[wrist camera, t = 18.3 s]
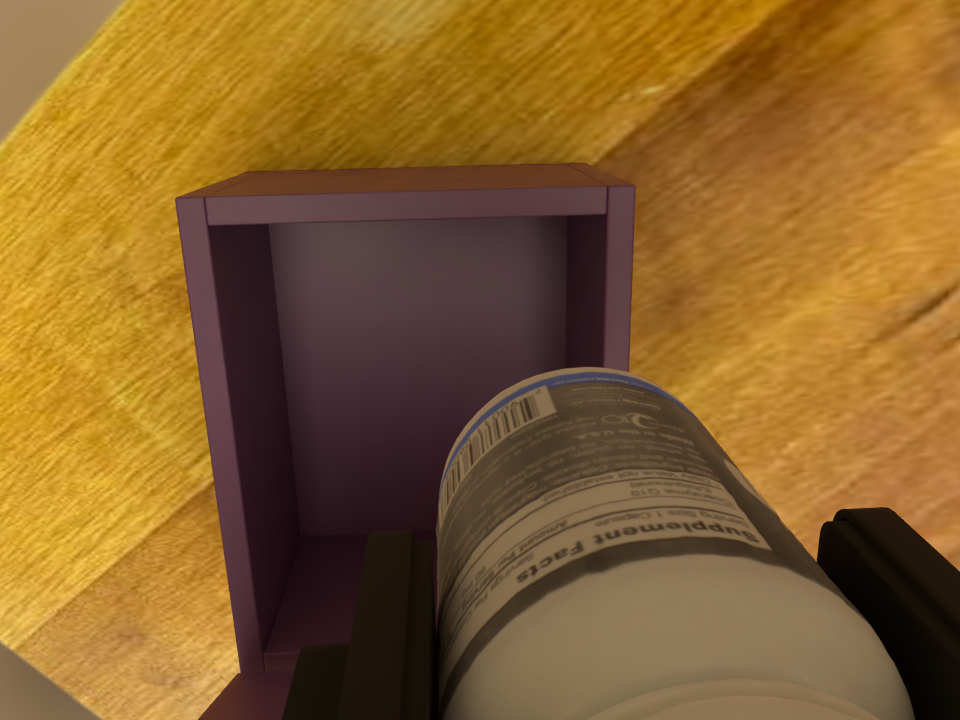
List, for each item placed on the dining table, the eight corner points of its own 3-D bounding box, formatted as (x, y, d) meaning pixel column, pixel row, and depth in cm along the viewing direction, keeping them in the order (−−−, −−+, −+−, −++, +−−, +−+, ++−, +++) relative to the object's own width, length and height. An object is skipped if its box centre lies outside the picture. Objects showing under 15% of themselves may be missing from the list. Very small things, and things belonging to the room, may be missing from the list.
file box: (245, 171, 29) (173, 197, 22) (585, 162, 30) (636, 184, 22) (287, 543, 34) (240, 675, 26) (578, 531, 35) (618, 657, 27)
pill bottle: (724, 588, 14) (1088, 1213, 6) (462, 631, 14) (491, 1307, 6) (704, 334, 13) (1150, 728, 5) (413, 384, 13) (366, 858, 5)
